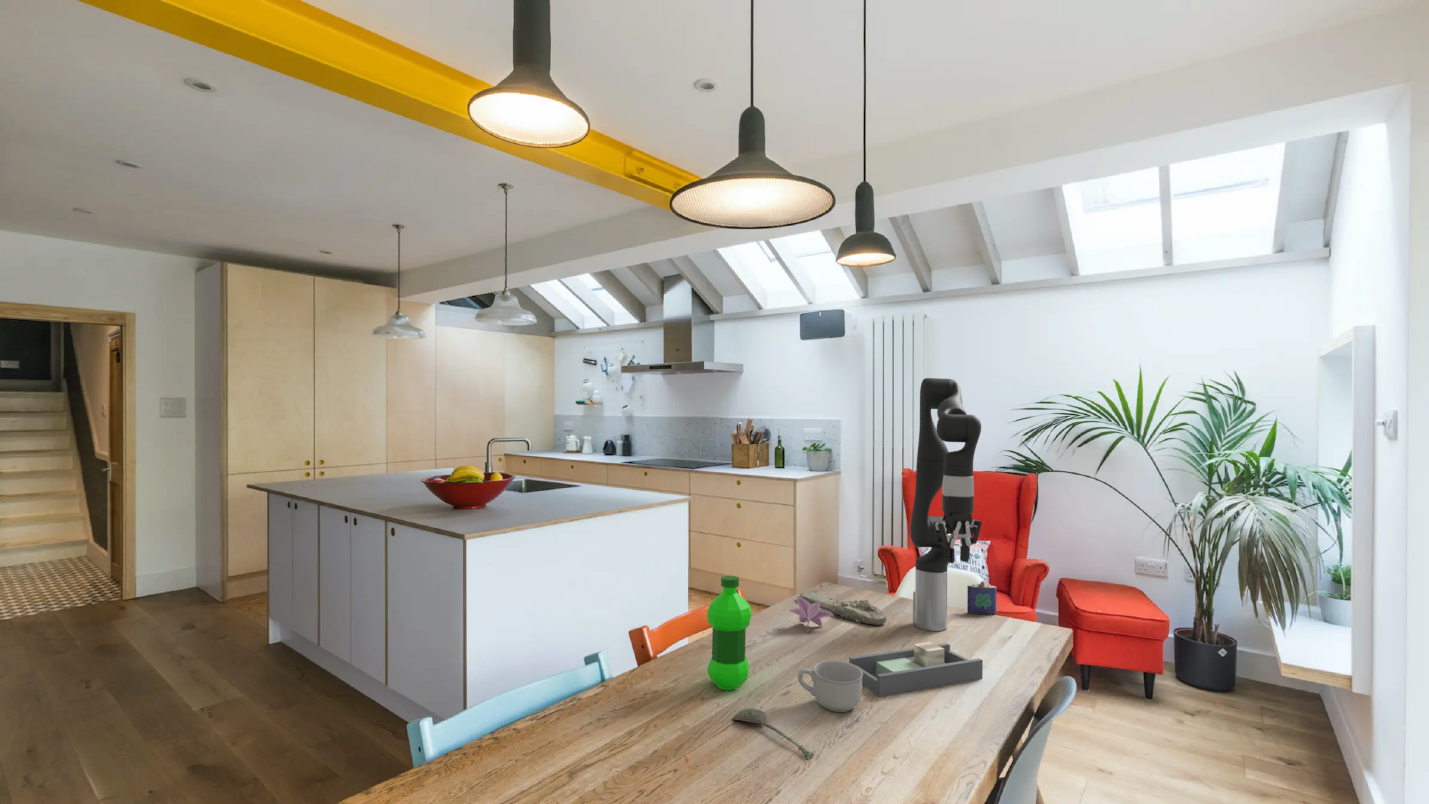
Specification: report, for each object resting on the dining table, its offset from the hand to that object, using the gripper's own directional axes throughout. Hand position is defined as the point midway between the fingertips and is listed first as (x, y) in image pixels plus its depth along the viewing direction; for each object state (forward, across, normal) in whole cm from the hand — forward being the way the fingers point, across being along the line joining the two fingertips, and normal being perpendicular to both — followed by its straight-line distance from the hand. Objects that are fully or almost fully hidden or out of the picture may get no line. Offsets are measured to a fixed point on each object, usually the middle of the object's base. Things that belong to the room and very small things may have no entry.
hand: (957, 561), depth 165 cm
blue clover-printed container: (+28, -42, -35) cm, 62 cm away
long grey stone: (+28, 0, -52) cm, 59 cm away
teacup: (+28, +40, +6) cm, 49 cm away
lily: (+28, +18, -40) cm, 52 cm away
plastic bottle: (+27, +58, -11) cm, 65 cm away
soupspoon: (+28, +59, +14) cm, 66 cm away
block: (+24, +8, 0) cm, 26 cm away
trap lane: (+27, +12, 0) cm, 30 cm away
